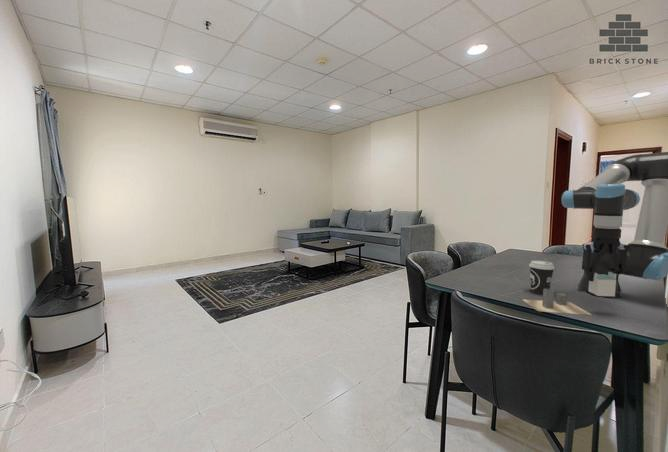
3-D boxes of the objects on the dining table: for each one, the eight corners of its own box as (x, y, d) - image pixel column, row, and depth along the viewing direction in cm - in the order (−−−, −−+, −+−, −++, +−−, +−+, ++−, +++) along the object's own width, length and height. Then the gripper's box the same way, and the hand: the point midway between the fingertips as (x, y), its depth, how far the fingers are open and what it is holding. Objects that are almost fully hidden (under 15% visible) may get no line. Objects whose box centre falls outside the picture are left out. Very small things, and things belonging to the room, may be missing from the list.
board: (570, 305, 119) (570, 302, 119) (591, 317, 106) (592, 314, 106) (522, 302, 122) (522, 299, 122) (537, 314, 110) (537, 311, 110)
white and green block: (604, 291, 109) (605, 274, 108) (614, 296, 104) (616, 278, 103) (588, 291, 110) (589, 274, 109) (598, 295, 105) (599, 278, 104)
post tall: (549, 305, 115) (550, 288, 114) (553, 308, 112) (554, 290, 112) (542, 305, 115) (543, 288, 115) (545, 307, 113) (547, 290, 112)
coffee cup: (545, 300, 125) (547, 265, 124) (522, 293, 134) (524, 261, 132) (557, 296, 129) (559, 263, 128) (534, 290, 138) (536, 259, 136)
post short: (562, 303, 118) (563, 293, 118) (566, 305, 116) (567, 295, 115) (555, 302, 119) (556, 293, 118) (559, 305, 116) (560, 295, 116)
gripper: (628, 226, 106) (622, 287, 109) (571, 226, 109) (567, 285, 112) (645, 228, 99) (639, 294, 101) (584, 228, 102) (580, 292, 105)
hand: (601, 289), depth 107 cm, fingers closed on white and green block, 5 cm apart
